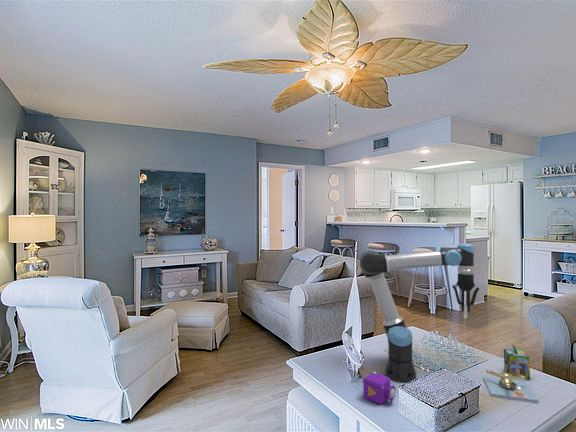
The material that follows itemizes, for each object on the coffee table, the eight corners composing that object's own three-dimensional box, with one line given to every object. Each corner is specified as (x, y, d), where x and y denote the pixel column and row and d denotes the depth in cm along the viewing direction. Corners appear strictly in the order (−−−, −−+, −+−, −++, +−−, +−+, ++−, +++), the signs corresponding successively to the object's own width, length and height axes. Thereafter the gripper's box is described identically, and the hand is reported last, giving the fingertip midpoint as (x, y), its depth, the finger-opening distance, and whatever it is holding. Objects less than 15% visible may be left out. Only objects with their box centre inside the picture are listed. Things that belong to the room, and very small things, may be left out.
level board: (491, 396, 152) (490, 392, 152) (483, 378, 168) (483, 375, 168) (538, 403, 146) (538, 399, 146) (525, 384, 162) (525, 381, 162)
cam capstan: (517, 399, 146) (517, 385, 146) (477, 383, 160) (477, 370, 160) (533, 389, 154) (533, 376, 154) (494, 374, 169) (494, 362, 169)
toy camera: (392, 409, 142) (392, 386, 142) (361, 400, 149) (361, 378, 149) (399, 397, 151) (398, 375, 151) (369, 389, 158) (369, 368, 158)
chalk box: (530, 380, 166) (530, 350, 166) (509, 377, 169) (508, 348, 169) (523, 371, 175) (523, 343, 175) (503, 369, 178) (503, 341, 178)
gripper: (452, 273, 176) (452, 318, 176) (480, 275, 171) (480, 321, 171) (451, 271, 183) (451, 314, 183) (478, 272, 178) (478, 317, 178)
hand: (465, 317), depth 177 cm, fingers closed
